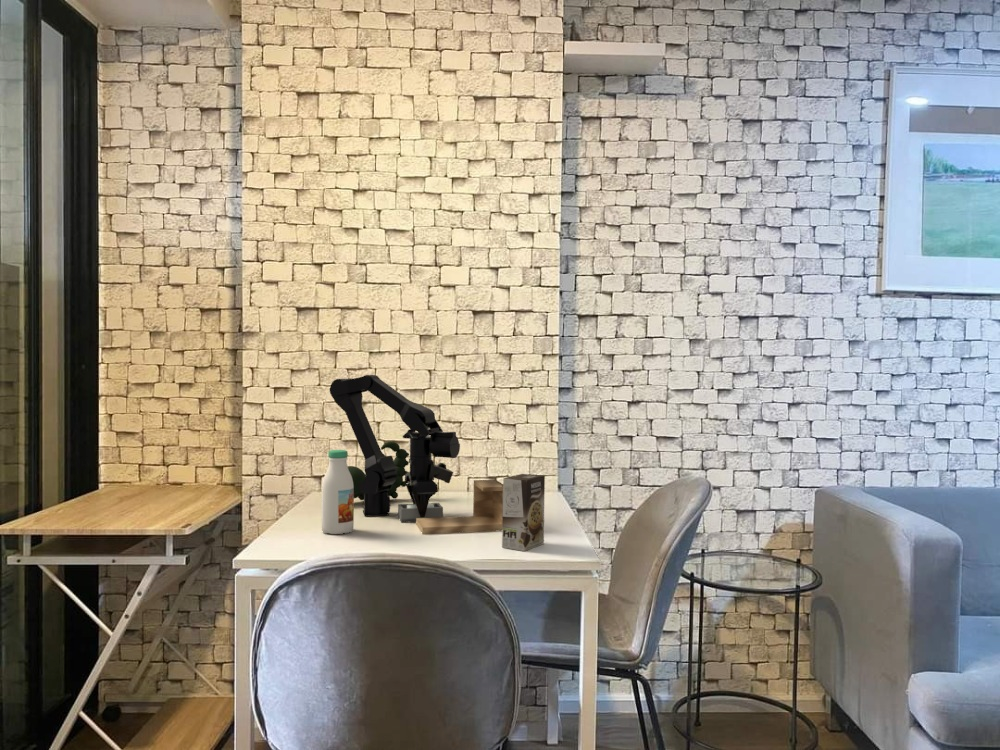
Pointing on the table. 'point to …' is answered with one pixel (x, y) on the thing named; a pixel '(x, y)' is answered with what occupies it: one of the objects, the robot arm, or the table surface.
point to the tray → (411, 512)
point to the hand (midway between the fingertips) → (420, 514)
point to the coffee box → (523, 511)
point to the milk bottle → (337, 495)
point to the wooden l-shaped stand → (484, 512)
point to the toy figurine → (400, 464)
